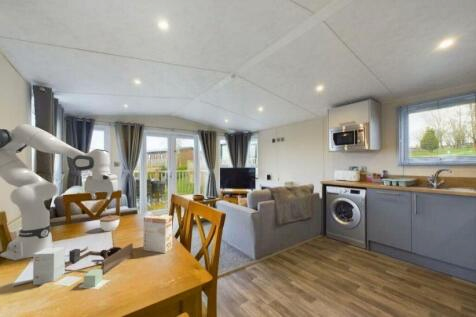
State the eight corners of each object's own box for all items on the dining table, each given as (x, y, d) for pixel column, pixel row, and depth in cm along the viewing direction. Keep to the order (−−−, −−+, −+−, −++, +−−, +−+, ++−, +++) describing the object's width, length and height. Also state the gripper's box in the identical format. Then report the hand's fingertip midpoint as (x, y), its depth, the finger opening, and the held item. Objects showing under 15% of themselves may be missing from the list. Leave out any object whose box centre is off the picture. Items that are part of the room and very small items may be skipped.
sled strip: (51, 272, 92) (52, 257, 92) (88, 253, 111) (88, 240, 112) (103, 277, 89) (103, 261, 89) (132, 256, 108) (132, 243, 108)
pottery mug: (127, 256, 109) (127, 246, 105) (117, 273, 100) (117, 262, 97) (104, 252, 107) (104, 241, 104) (92, 268, 99) (92, 257, 95)
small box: (65, 275, 90) (65, 246, 90) (53, 284, 83) (53, 253, 83) (45, 276, 89) (46, 247, 89) (32, 285, 83) (32, 254, 83)
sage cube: (83, 286, 80) (83, 275, 80) (91, 280, 84) (91, 269, 84) (95, 286, 80) (95, 275, 80) (102, 280, 85) (102, 269, 85)
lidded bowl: (122, 229, 151) (123, 214, 151) (104, 234, 140) (105, 218, 140) (114, 226, 157) (114, 212, 158) (96, 230, 147) (96, 215, 147)
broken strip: (52, 287, 81) (52, 284, 81) (66, 278, 87) (66, 275, 87) (97, 292, 79) (97, 289, 79) (109, 282, 84) (109, 280, 84)
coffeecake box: (172, 248, 118) (172, 215, 118) (165, 253, 111) (165, 218, 112) (151, 245, 122) (151, 213, 122) (142, 250, 115) (143, 216, 116)
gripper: (81, 176, 118) (81, 199, 118) (111, 176, 115) (111, 200, 114) (91, 175, 124) (90, 197, 124) (119, 176, 121) (119, 198, 121)
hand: (100, 199), depth 119 cm, fingers open, 8 cm apart
